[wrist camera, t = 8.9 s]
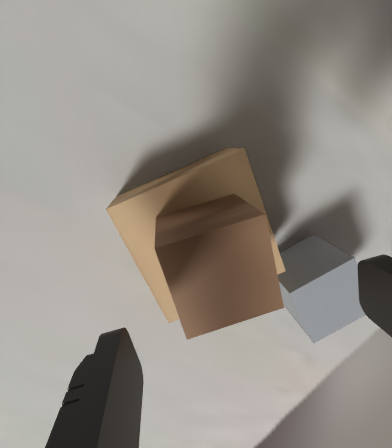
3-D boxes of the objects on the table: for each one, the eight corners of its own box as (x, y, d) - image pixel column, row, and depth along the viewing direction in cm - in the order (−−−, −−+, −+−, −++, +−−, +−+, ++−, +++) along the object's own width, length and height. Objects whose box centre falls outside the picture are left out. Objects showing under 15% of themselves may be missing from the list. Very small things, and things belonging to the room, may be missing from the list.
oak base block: (226, 147, 18) (244, 148, 14) (261, 247, 20) (285, 271, 16) (117, 195, 18) (106, 209, 14) (166, 289, 20) (168, 323, 16)
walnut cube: (233, 193, 14) (265, 214, 10) (250, 263, 16) (283, 307, 12) (155, 217, 14) (154, 248, 10) (179, 286, 16) (187, 339, 11)
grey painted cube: (313, 233, 20) (354, 257, 16) (330, 278, 22) (373, 310, 17) (261, 262, 20) (289, 293, 16) (282, 304, 22) (313, 343, 17)
